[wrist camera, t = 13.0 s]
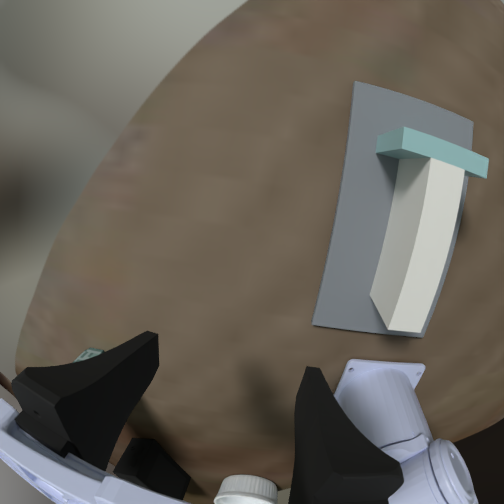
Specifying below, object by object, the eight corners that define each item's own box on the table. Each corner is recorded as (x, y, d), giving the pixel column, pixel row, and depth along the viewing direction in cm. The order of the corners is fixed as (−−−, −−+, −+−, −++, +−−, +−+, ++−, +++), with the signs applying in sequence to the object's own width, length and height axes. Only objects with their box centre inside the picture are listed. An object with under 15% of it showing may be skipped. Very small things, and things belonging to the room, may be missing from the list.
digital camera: (125, 436, 31) (105, 470, 25) (154, 438, 30) (134, 476, 23) (163, 474, 34) (149, 506, 27) (191, 477, 32) (178, 511, 26)
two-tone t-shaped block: (416, 301, 19) (442, 334, 15) (347, 291, 20) (360, 326, 15) (450, 158, 16) (488, 159, 11) (377, 135, 17) (404, 126, 12)
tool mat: (420, 333, 21) (422, 337, 20) (311, 320, 22) (311, 324, 21) (469, 122, 15) (473, 121, 15) (353, 83, 16) (354, 80, 16)
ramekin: (223, 491, 33) (217, 512, 29) (216, 467, 30) (209, 492, 26) (279, 497, 32) (276, 518, 27) (282, 474, 29) (279, 499, 25)
